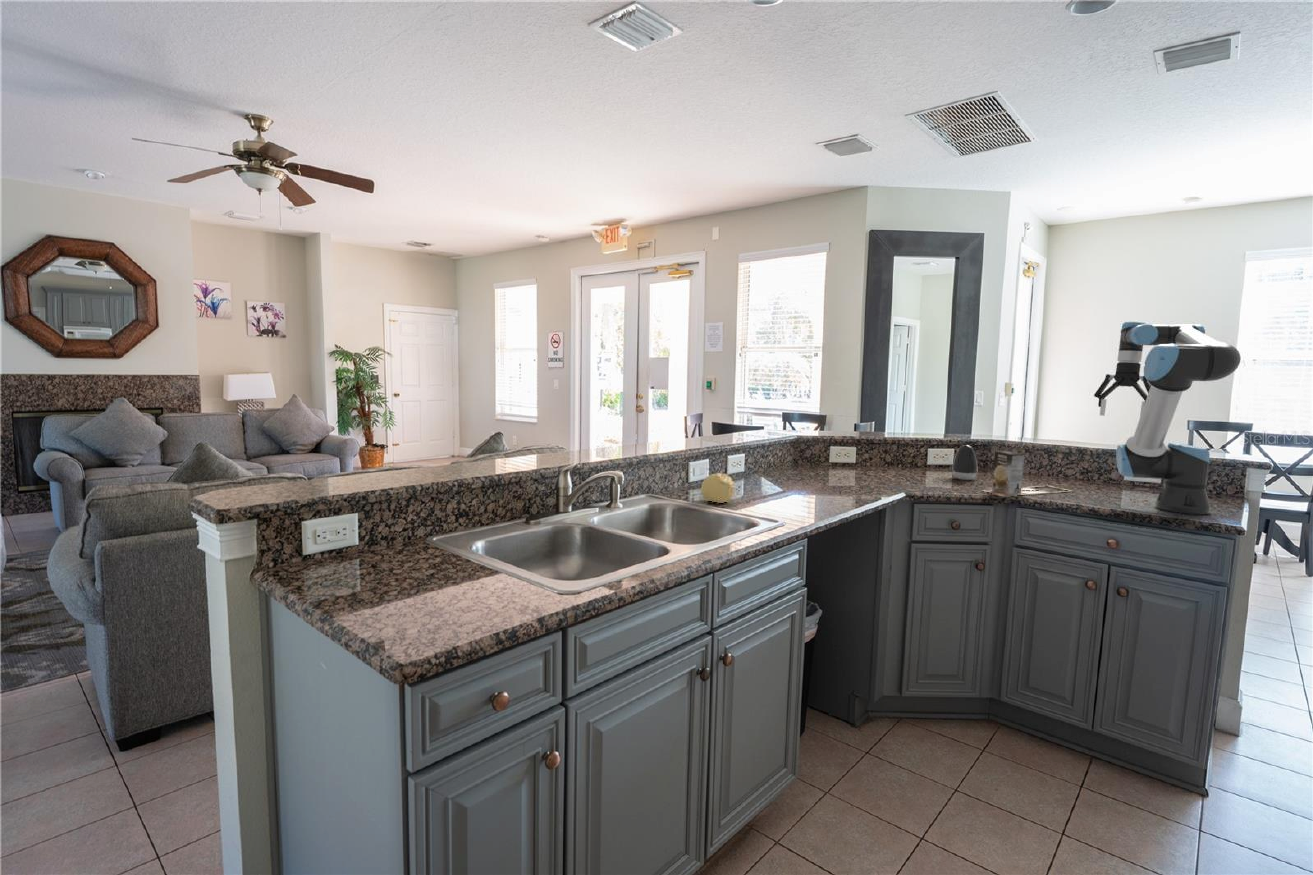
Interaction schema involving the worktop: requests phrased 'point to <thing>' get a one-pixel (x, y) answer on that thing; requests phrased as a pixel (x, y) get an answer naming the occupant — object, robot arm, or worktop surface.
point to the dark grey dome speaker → (965, 463)
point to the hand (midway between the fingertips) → (1121, 417)
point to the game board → (1028, 491)
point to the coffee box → (1008, 472)
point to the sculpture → (718, 488)
